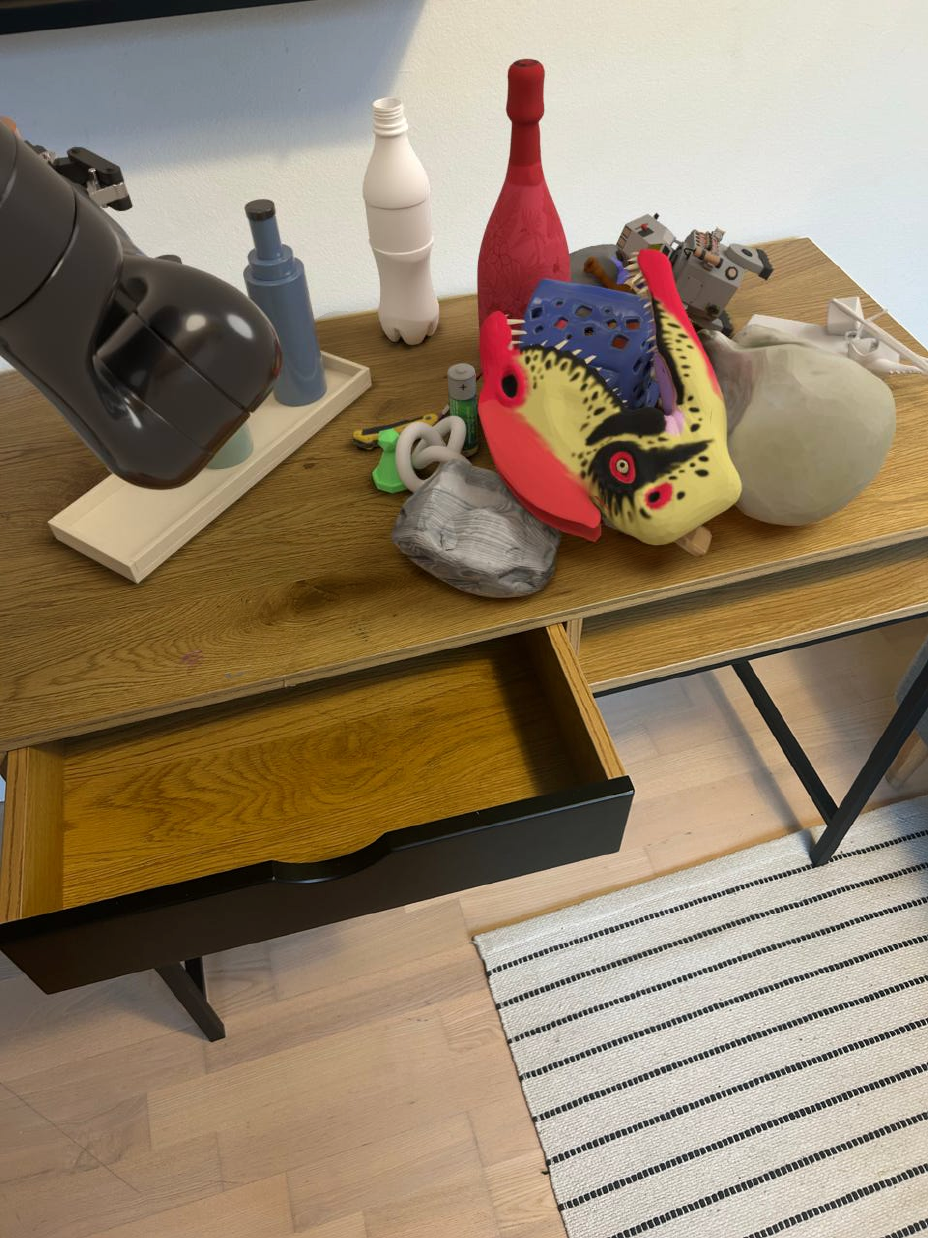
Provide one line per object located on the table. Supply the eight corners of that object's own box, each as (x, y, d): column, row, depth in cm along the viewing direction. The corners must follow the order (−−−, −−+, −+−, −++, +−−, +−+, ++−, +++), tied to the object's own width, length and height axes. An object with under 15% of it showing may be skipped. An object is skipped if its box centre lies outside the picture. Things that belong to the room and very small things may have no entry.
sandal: (574, 431, 78) (541, 477, 79) (700, 525, 70) (661, 574, 71) (607, 453, 83) (576, 495, 85) (728, 543, 75) (692, 588, 76)
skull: (616, 415, 85) (783, 486, 90) (652, 494, 70) (850, 574, 75) (696, 268, 77) (874, 355, 82) (756, 322, 63) (969, 424, 67)
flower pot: (622, 484, 85) (663, 400, 90) (623, 385, 74) (669, 295, 79) (502, 452, 90) (546, 374, 95) (485, 354, 79) (537, 272, 84)
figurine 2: (719, 385, 95) (966, 438, 84) (727, 318, 89) (994, 366, 79) (756, 331, 102) (990, 374, 91) (767, 266, 96) (1017, 303, 85)
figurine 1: (756, 227, 99) (642, 180, 95) (780, 279, 92) (657, 231, 87) (712, 295, 105) (603, 254, 101) (731, 349, 98) (615, 307, 94)
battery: (465, 460, 87) (461, 380, 80) (446, 449, 88) (441, 369, 81) (483, 448, 88) (481, 367, 81) (465, 437, 89) (461, 357, 82)
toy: (665, 216, 73) (441, 291, 75) (780, 490, 64) (524, 568, 66) (661, 273, 80) (456, 341, 82) (765, 527, 71) (533, 597, 73)
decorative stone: (588, 583, 73) (527, 626, 81) (551, 444, 77) (497, 498, 85) (436, 581, 66) (386, 628, 74) (406, 428, 70) (362, 488, 78)
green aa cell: (433, 428, 87) (461, 393, 84) (430, 425, 87) (458, 390, 84) (459, 404, 93) (486, 370, 90) (456, 401, 93) (483, 368, 90)
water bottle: (370, 344, 102) (338, 112, 82) (396, 313, 106) (370, 86, 87) (426, 354, 100) (405, 120, 80) (450, 322, 104) (435, 93, 85)
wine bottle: (532, 327, 102) (538, 34, 80) (583, 365, 97) (606, 62, 74) (463, 355, 99) (449, 58, 76) (512, 396, 94) (512, 89, 71)
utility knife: (492, 388, 92) (504, 403, 91) (492, 398, 93) (504, 413, 92) (350, 431, 89) (360, 447, 87) (352, 441, 90) (362, 457, 88)
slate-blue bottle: (268, 406, 93) (219, 220, 78) (279, 374, 97) (235, 191, 81) (322, 406, 93) (285, 219, 77) (331, 374, 96) (297, 190, 81)
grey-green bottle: (188, 469, 87) (119, 280, 71) (203, 432, 91) (140, 245, 75) (247, 469, 86) (189, 279, 71) (259, 432, 90) (207, 244, 75)
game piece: (424, 478, 85) (420, 429, 81) (391, 499, 83) (384, 450, 79) (397, 459, 87) (391, 410, 83) (364, 478, 86) (355, 429, 81)
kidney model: (538, 299, 95) (561, 198, 104) (527, 348, 101) (549, 250, 110) (674, 330, 95) (685, 227, 104) (654, 378, 101) (666, 277, 110)
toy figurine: (627, 373, 99) (655, 335, 102) (646, 360, 96) (674, 321, 98) (553, 299, 96) (583, 261, 99) (570, 282, 93) (600, 244, 96)
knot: (490, 476, 86) (501, 431, 82) (447, 520, 81) (456, 475, 77) (428, 442, 88) (436, 396, 83) (383, 483, 83) (388, 437, 79)
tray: (137, 584, 78) (128, 566, 76) (56, 539, 82) (46, 521, 80) (372, 385, 96) (369, 367, 94) (296, 357, 100) (292, 339, 99)
